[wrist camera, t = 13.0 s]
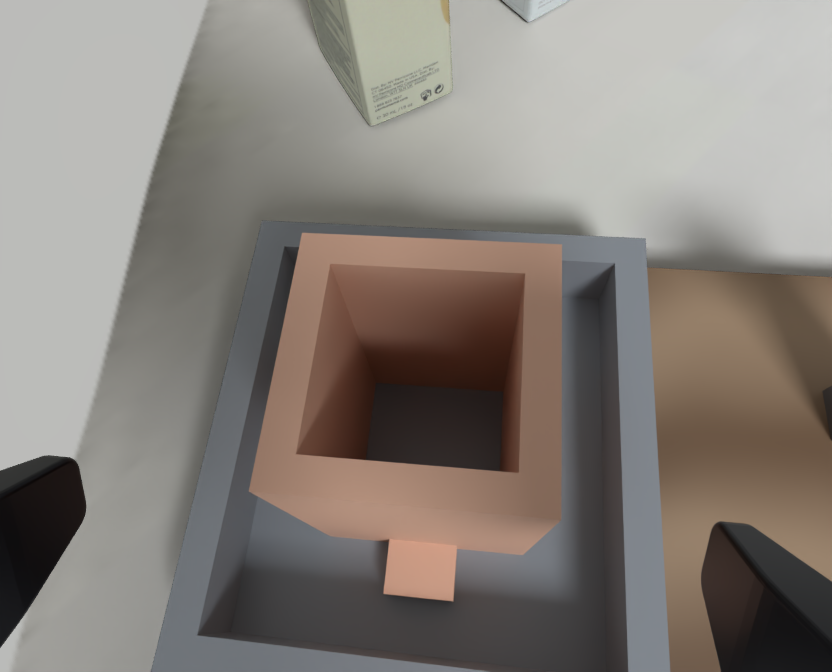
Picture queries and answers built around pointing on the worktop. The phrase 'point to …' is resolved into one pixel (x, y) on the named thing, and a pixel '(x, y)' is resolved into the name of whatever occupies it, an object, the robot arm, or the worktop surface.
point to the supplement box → (533, 7)
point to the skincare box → (386, 52)
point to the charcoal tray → (447, 447)
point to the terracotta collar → (420, 366)
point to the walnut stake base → (738, 426)
